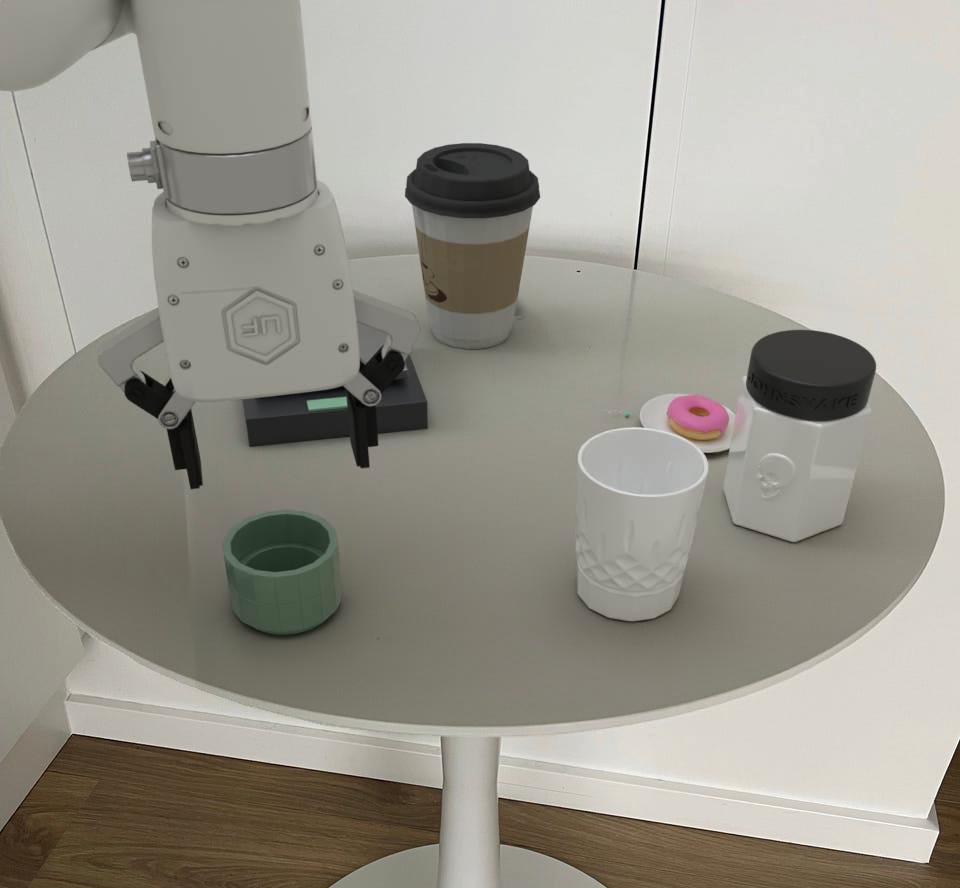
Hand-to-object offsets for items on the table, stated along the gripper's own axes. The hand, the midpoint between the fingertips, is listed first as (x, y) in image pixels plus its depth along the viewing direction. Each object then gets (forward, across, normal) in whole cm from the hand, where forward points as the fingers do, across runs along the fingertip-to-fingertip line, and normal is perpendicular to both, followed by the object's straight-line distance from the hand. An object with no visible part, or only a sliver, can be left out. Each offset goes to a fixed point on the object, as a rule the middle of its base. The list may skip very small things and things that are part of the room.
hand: (279, 466), depth 69 cm
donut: (+11, +31, +16) cm, 37 cm away
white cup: (+11, +21, -3) cm, 24 cm away
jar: (+11, +35, +4) cm, 37 cm away
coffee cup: (+11, +19, +36) cm, 42 cm away
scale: (+10, +5, +27) cm, 30 cm away
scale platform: (+7, +5, +28) cm, 29 cm away
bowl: (+10, -1, 0) cm, 11 cm away
